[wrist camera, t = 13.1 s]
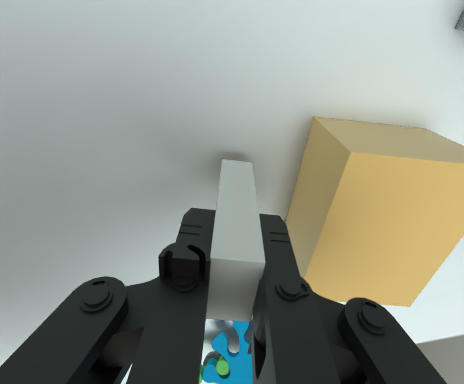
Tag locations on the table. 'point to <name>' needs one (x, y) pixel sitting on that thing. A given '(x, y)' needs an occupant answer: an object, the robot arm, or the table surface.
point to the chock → (375, 209)
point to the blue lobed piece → (228, 360)
